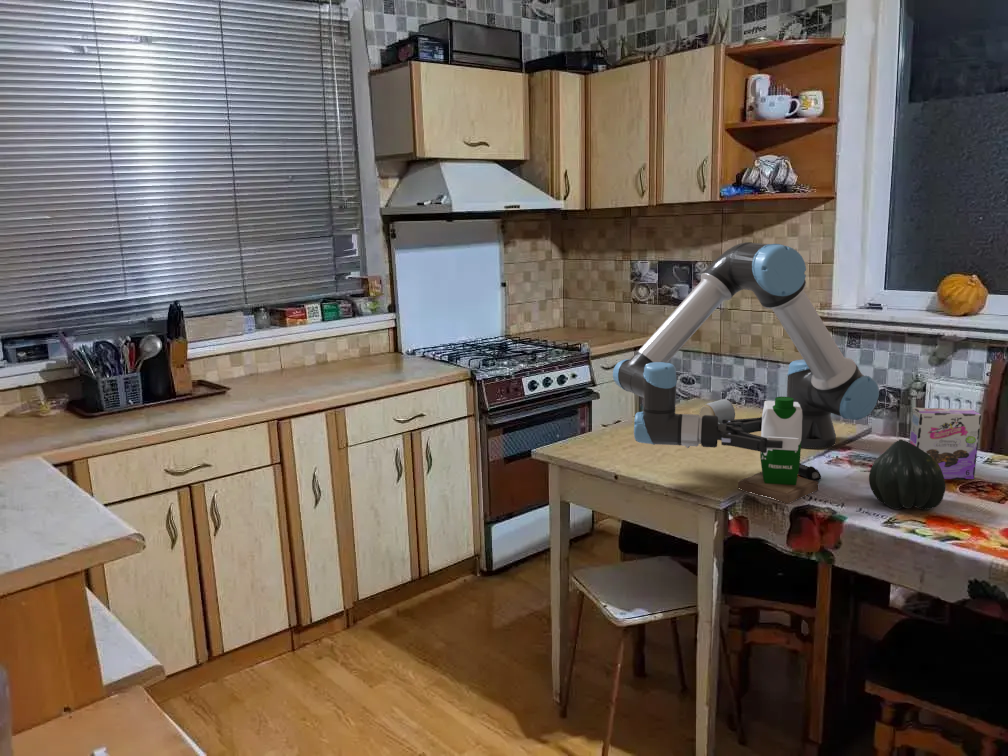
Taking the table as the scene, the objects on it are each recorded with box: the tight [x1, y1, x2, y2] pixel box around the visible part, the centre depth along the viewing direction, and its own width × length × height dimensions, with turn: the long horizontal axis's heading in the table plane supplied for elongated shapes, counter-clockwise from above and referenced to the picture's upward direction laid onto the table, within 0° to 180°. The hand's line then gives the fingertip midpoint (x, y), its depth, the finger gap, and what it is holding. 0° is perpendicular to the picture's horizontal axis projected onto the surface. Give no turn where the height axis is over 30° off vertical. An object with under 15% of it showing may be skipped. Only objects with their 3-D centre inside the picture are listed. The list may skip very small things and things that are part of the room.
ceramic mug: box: [698, 398, 736, 424], centre depth 246 cm, size 11×8×8 cm
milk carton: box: [759, 396, 803, 485], centre depth 192 cm, size 9×9×20 cm
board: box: [737, 471, 820, 505], centre depth 194 cm, size 13×13×2 cm
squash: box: [868, 438, 946, 510], centre depth 183 cm, size 14×15×15 cm
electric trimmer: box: [798, 463, 822, 482], centre depth 206 cm, size 4×16×3 cm, turn 24°
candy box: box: [908, 407, 982, 480], centre depth 200 cm, size 14×6×16 cm, turn 82°
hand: (796, 435), depth 190 cm, fingers open, 13 cm apart
